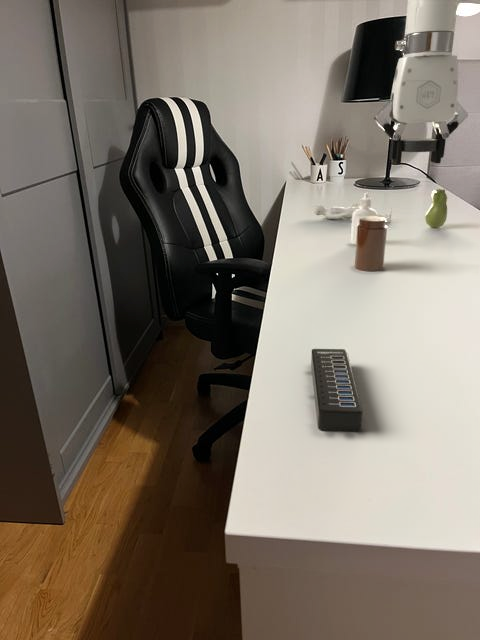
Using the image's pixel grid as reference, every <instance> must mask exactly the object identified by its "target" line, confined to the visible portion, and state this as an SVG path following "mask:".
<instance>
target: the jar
mask: <svg viewBox="0 0 480 640" xmlns="http://www.w3.org/2000/svg"><path fill="white" fill-rule="evenodd" d="M359 220H360V221H359V225H357V235H356V245H355V251H354V264H353V267H354V268H355V269H356V270H358V271H363V272H379V271H382V270H383V269H384V265H385V254H386V245H387V244H386V242H387V233H388V226H387V225H386V223H387V222H386V219H385V218H383V217H377V216H365V217H361V218H360V219H359Z"/></svg>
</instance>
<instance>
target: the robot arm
mask: <svg viewBox="0 0 480 640" xmlns="http://www.w3.org/2000/svg"><path fill="white" fill-rule="evenodd" d="M477 13H480V0H407V9H406V19H405V29H404V36H403V38H402V39H400V40H396V41H395V42H394V43H395V44H394V50H395V51H401V54H402V57H400V58H398V61H397V63H396V64H397V65H396V68H395V71H394V72H395V73H394V78H393V83H392V87H391V94H390V100H389V101H388V102H387V103H386V104H385V105H384V106H383V107H382V108H381V109H380V110H379V111H378V112H377V113H376V114H375V115H374V117H373V119H374V121H375V123H376V124H377V125H378V126H379V127H380V128H381V129H382V131H383V132H384V133H385V134H386V136H388V138H389V139H390V146H389V147H390V148H389V159H390V160H391V163H392V164H394V165H397V166H398V165H400V164H401V163H402V155H403V152H402V145H403V141H402V140H401V139H402V134H403V132H404V131H405V128H406V127H407V124H417V123H418V124H420V123H421V124H422V123H432V124H433V129H434V131H435V137H434V138H433V139H437V147H436V151H432V152H431V153H430V162H431V163H434V164H441V162H442V159H443V158H444V155H445V150H446V149H445V148H446V141H447V139H449V137H450V135H451V134H453V132H454V131H455V130H457V128H458V127H459V126H460V125H461V124H462V123H463V122H464V121H465V120H466V119H467V118H468V116H469V113H468V112H467V111H466V110H465V108H464V107H463V106H462V104H461V103H460V102H459V101H458V89H459V64H458V63H459V61H458V55H455V54H454V55H453V54H452V53H453V49H454V48H453V46H454V40H455V39H454V38H455V31H456V23H457V16H458V15H459V16H462V17H469V16H474V15H476V14H477ZM388 115H389V116H388ZM387 117H389V119H390V121H392V122H394V124H393V126H392V125H391V124H390V123H389V122H388V120H387ZM447 122H448V123H447Z"/></svg>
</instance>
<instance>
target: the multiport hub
mask: <svg viewBox="0 0 480 640" xmlns="http://www.w3.org/2000/svg"><path fill="white" fill-rule="evenodd" d="M310 359H311V361H310V369H311V377H312V378H311V379H312V387H313V396H314V407H315V414H316V415H315V416H316V424H317V425H316V426H317V429H318V430H319V431H325V432H327V431H328V432H356V433H357V432H358V433H359V432H361V430H362V422H363V406H362V402H361V399H360V396H359V395H360V394H359V392H358V388H357V384H356V379H355V377H354V372H353V369H352V365H351V361H350V358H349V353H348V350H347V349H344V348H312V349H311V358H310Z"/></svg>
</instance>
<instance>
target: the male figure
mask: <svg viewBox="0 0 480 640" xmlns="http://www.w3.org/2000/svg"><path fill="white" fill-rule="evenodd" d="M357 209H360V205H359V203H356V204H355V203H353V204H352V205H350V206H346V207H341V206H330V207H329V208H328V209H326V208H325V206H322V205H316V206H315V207H314V209H313V213H314V214H315V215H316V216H320V215H321V216H325V217H326V219H327V220H339V219H342V218H343V219H346V220H352V214H353V212H354V211H355V210H357ZM392 210H393V209H392V208H390V209H389V211H388V213H387V214H379V213H377V217H383V218H385V219H386V223H387V224H390V223H391V220H392V212H393V211H392Z"/></svg>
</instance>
